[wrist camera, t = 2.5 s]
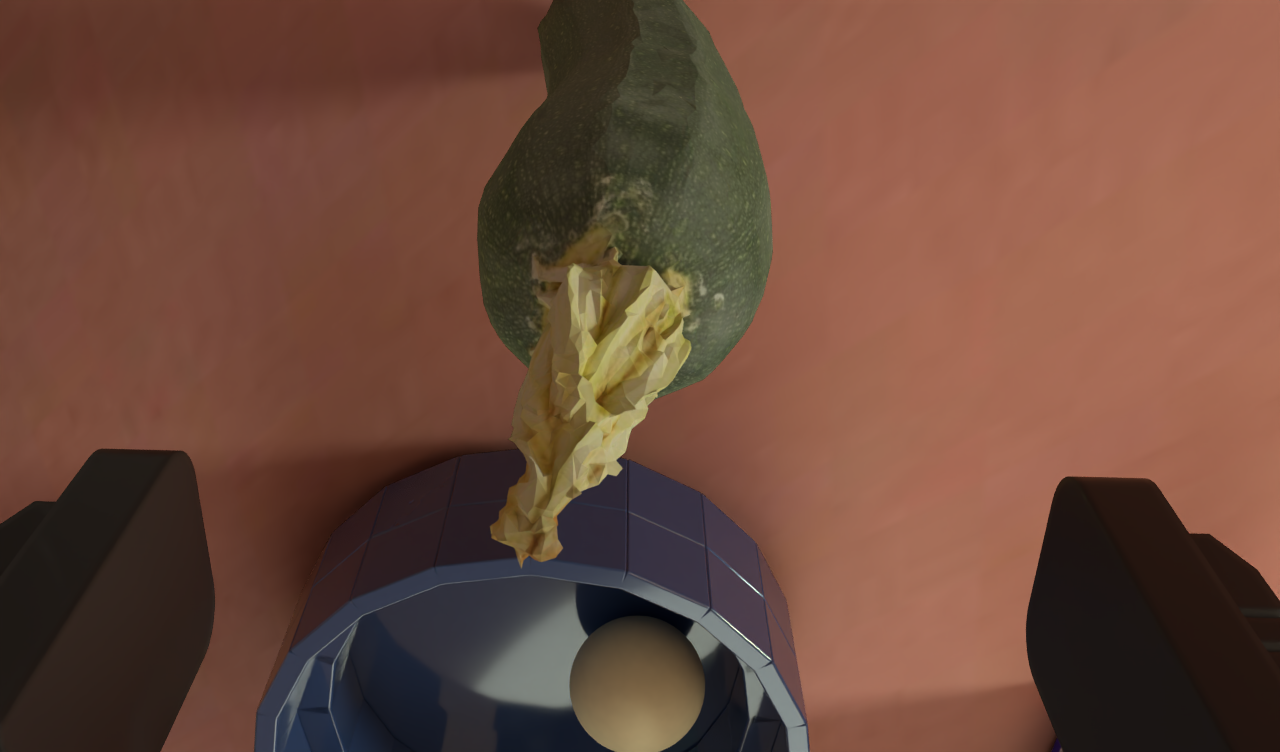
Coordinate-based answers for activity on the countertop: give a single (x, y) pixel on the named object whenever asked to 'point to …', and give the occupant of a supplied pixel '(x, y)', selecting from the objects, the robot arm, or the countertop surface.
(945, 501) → the countertop surface
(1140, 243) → the countertop surface
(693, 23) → the vegetable
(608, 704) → the ball
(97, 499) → the robot arm
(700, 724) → the bowl
